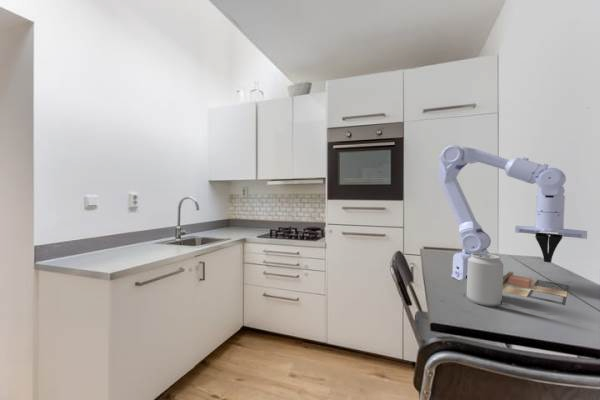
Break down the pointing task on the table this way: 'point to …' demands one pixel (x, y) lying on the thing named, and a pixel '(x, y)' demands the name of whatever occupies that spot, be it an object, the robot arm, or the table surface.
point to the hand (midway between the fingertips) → (547, 261)
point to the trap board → (534, 289)
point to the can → (485, 279)
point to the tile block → (520, 281)
